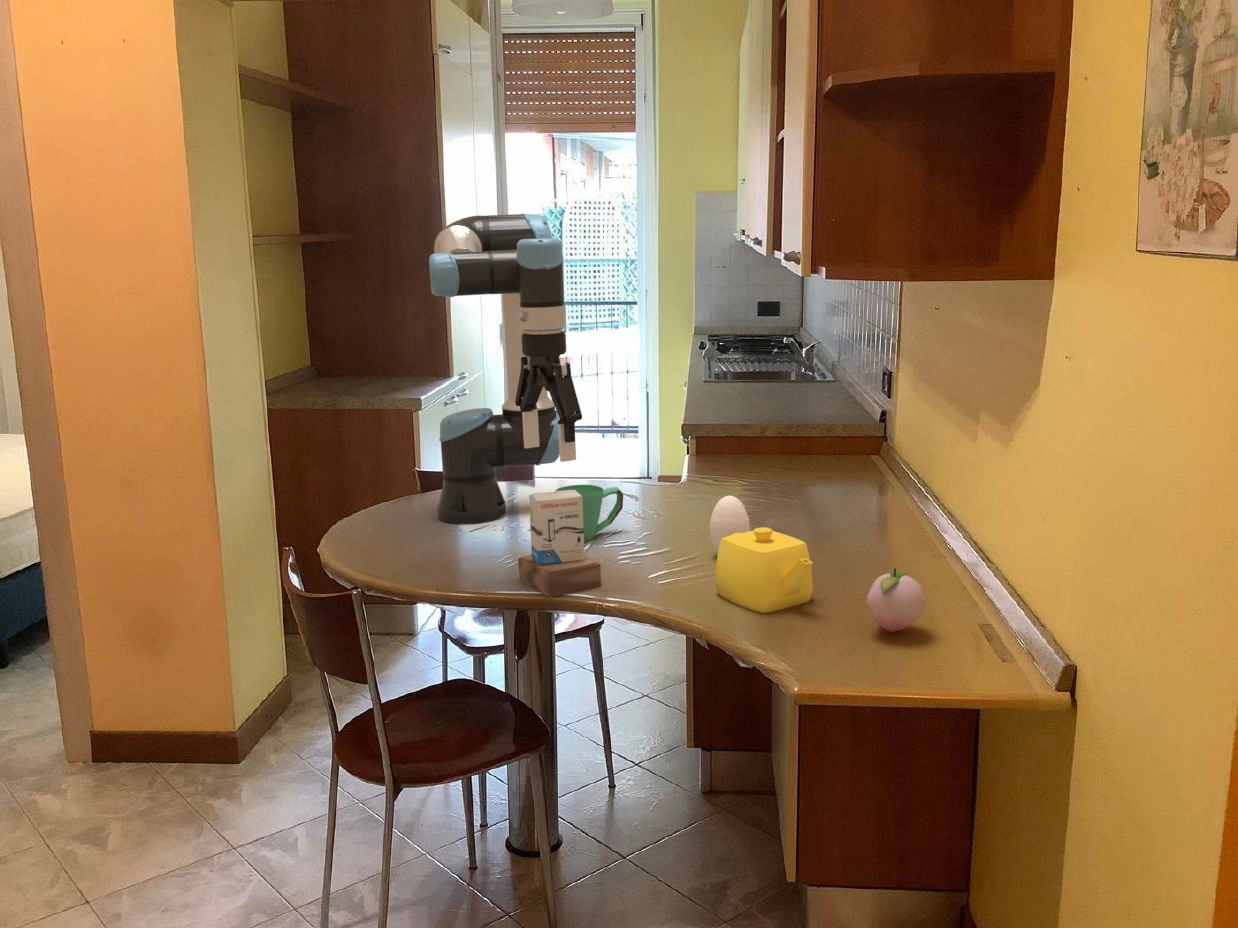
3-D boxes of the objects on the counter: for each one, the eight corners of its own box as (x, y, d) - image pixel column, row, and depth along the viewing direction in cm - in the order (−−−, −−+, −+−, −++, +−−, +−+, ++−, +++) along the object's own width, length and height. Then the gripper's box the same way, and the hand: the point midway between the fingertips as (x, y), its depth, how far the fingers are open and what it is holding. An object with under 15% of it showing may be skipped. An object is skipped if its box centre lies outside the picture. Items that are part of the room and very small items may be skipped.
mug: (569, 547, 204) (566, 498, 202) (549, 536, 213) (546, 488, 211) (634, 536, 211) (633, 488, 209) (613, 525, 219) (611, 479, 217)
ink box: (538, 566, 179) (534, 500, 177) (531, 558, 184) (527, 493, 182) (585, 559, 182) (583, 494, 179) (578, 552, 187) (575, 488, 184)
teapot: (837, 607, 167) (837, 537, 165) (777, 624, 161) (777, 551, 158) (757, 576, 184) (757, 511, 181) (701, 590, 177) (699, 523, 175)
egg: (702, 556, 196) (700, 496, 193) (729, 548, 200) (728, 489, 198) (730, 565, 190) (729, 502, 188) (758, 556, 195) (757, 495, 192)
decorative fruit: (920, 646, 150) (922, 580, 148) (863, 640, 153) (864, 575, 151) (927, 624, 159) (929, 561, 156) (872, 618, 162) (873, 556, 159)
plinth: (519, 579, 186) (518, 556, 185) (568, 568, 191) (567, 546, 190) (550, 597, 176) (548, 573, 175) (601, 585, 181) (600, 562, 180)
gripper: (492, 328, 185) (499, 444, 190) (558, 339, 164) (564, 469, 169) (530, 324, 188) (536, 439, 193) (599, 335, 168) (604, 463, 172)
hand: (549, 453), depth 181 cm, fingers open, 13 cm apart
